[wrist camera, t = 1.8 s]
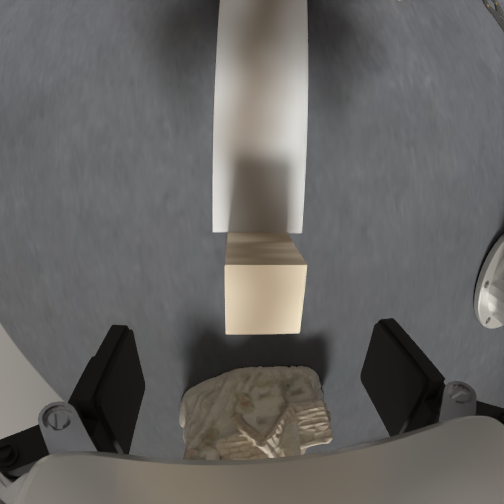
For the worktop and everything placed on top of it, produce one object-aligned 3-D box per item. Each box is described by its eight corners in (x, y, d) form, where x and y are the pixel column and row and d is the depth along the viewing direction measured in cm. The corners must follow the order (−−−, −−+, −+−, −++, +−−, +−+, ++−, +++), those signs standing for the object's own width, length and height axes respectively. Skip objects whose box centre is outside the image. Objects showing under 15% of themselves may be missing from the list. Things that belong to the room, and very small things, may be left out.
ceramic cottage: (202, 460, 31) (205, 557, 17) (161, 371, 27) (138, 503, 12) (320, 440, 32) (354, 532, 18) (319, 345, 28) (384, 465, 13)
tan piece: (300, -15, 16) (326, -70, 8) (292, 275, 23) (317, 332, 16) (223, -20, 15) (220, -80, 8) (215, 275, 23) (207, 334, 16)
